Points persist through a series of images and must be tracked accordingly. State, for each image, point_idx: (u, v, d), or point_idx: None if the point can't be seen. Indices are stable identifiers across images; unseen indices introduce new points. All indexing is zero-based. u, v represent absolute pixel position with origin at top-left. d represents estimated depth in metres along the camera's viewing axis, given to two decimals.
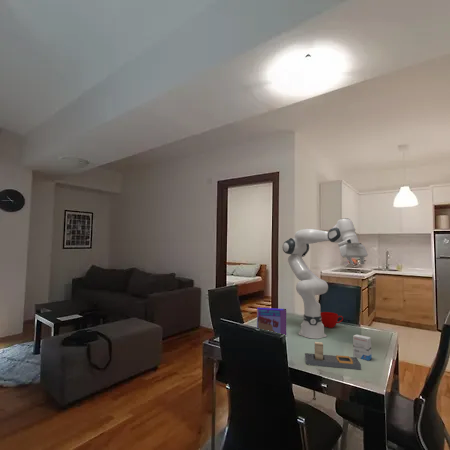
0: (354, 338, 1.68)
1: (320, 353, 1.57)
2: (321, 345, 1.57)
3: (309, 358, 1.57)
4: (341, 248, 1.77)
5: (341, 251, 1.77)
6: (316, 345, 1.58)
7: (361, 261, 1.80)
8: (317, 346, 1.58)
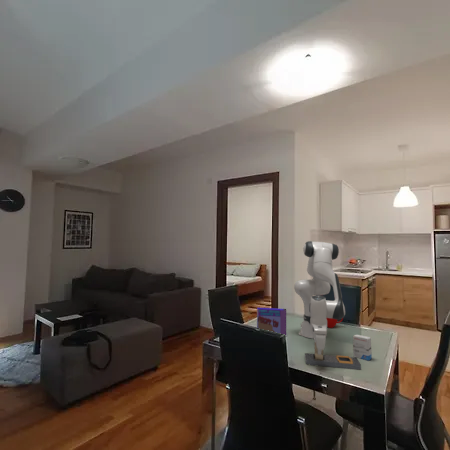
0: (354, 338, 1.68)
1: None
2: None
3: (309, 358, 1.57)
4: (319, 338, 1.51)
5: (318, 342, 1.50)
6: None
7: None
8: None
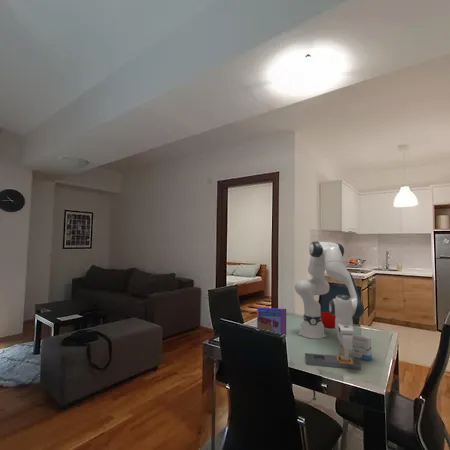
0: (354, 338, 1.68)
1: None
2: None
3: (309, 358, 1.57)
4: (346, 338, 1.48)
5: (345, 342, 1.48)
6: (342, 347, 1.55)
7: None
8: (343, 348, 1.55)
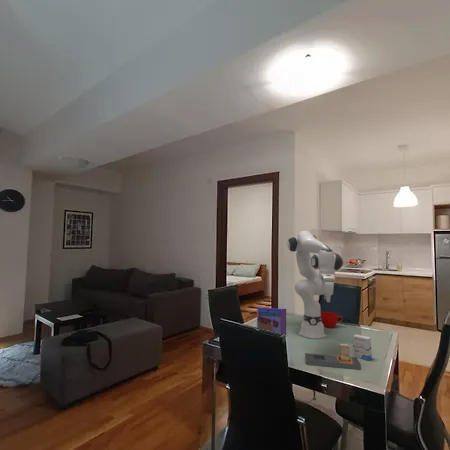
0: (354, 338, 1.68)
1: (346, 355, 1.55)
2: (347, 347, 1.55)
3: (309, 358, 1.57)
4: (328, 285, 1.62)
5: (327, 288, 1.62)
6: (342, 347, 1.55)
7: (326, 296, 1.75)
8: (343, 348, 1.55)
